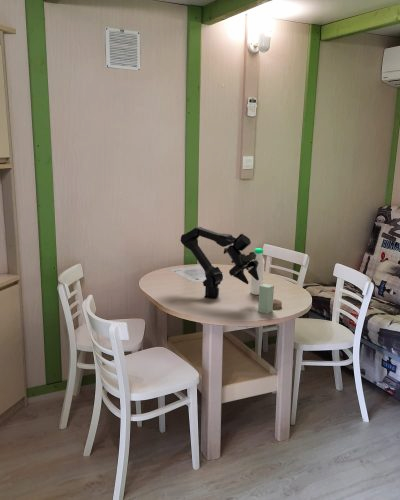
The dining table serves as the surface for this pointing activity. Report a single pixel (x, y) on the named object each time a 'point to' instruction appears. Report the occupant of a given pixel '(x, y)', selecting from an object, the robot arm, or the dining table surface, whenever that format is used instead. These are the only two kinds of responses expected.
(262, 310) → the sage post
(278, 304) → the walnut plinth
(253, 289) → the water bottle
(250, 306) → the dining table surface
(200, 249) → the robot arm
